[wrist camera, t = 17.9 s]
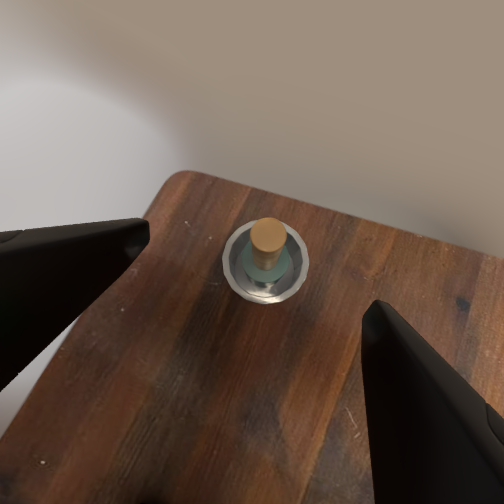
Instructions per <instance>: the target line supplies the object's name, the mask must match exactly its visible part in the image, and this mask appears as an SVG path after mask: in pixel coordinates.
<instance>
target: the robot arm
mask: <svg viewBox="0 0 504 504" xmlns="http://www.w3.org/2000/svg"><path fill="white" fill-rule="evenodd" d="M149 240H150V231H149V222H148V221H146V220H144V219H141V218H130V219H120V220H111V221H102V222H92V223H82V224H73V225H63V226H55V227H44V228H35V229H26V230H24V231H23V230H16V231H5V232H0V392H1V391H2V390H3V388H5V387H6V386H7V385H8V384H9V383H10V382H11V381H12V380H13V379H14V378H15V377H16V376H17V375H18V373H20V372H21V371H22V370H23V369H24V368H25V367H26V366H27V365H28V364H29V363H31V361H33V360H34V359H35V358H36V357H37V356H38V355H39V354H40V353H41V352H42V351H43V350H44V349H45V348H46V347H47V346H48V345H49V344H50V343H51V342H52V341H53V340H54V339H55V338H56V337H57V336H58V335H60V334H61V332H63V331H64V330H65V329H66V328H67V327H68V326H69V325H70V324H71V323H72V322H73V321H74V320H75V319H76V318H77V317H78V316H79V315H80V314H81V313H82V312H84V311H85V310H86V309H87V308H88V307H89V306H90V305H91V304H92V303H93V302H94V301H95V300H96V299H97V298H98V297H99V296H100V295H101V294H102V293H103V292H104V291H105V290H106V289H107V288H108V287H109V286H111V285H112V284H113V283H114V282H115V281H116V280H117V279H118V278H119V277H120V276H121V275H122V274H123V273H124V272H125V271H126V270H127V269H128V267H129V266H130V265H131V264H132V263H133V262H134V260H135V259H136V258H137V257H138V256H139V254H140V253H141V252H142V251H143V250H144V248H145V247H146V246H147V245H148V243H149ZM361 363H362V374H363V385H364V395H365V406H366V416H367V427H368V437H369V447H370V458H371V468H372V479H373V489H374V500H375V504H504V419H503V418H502V417H501V416H500V415H499V414H498V413H497V412H496V411H495V410H494V409H493V408H492V407H491V406H490V405H489V404H488V403H486V402H485V400H484V399H483V398H482V397H481V396H480V395H479V394H478V393H477V392H476V391H475V390H474V389H473V388H472V387H471V386H470V385H469V384H468V383H467V382H466V381H465V380H464V379H463V378H462V377H461V376H460V375H459V374H458V373H457V372H456V371H455V370H454V369H453V368H452V367H451V366H450V365H449V364H448V363H447V362H446V361H445V360H444V359H443V358H442V357H441V356H440V355H439V354H438V353H437V352H436V351H435V350H434V349H433V348H432V347H431V346H430V345H429V344H428V343H427V342H426V341H425V340H424V338H423V337H422V336H421V335H420V334H419V333H418V332H417V331H416V330H415V329H414V328H413V327H412V326H411V325H410V324H409V323H408V322H407V321H406V320H405V319H404V318H403V317H402V316H401V315H400V314H399V313H398V312H397V311H396V310H395V309H394V308H393V307H392V306H391V305H390V304H388V303H386V302H383V301H380V300H375V301H374V302H373V303H372V304H371V305H370V307H369V308H368V309H367V311H366V312H365V314H364V315H363V318H362V340H361ZM141 504H144V503H141Z"/></svg>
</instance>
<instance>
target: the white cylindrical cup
mask: <svg viewBox="0 0 504 504" xmlns="http://www.w3.org/2000/svg"><path fill="white" fill-rule="evenodd" d="M257 221H258V220H255V221H250V222H249V223H247V224H245V225H243V226H242V227H240V228H238V229H237V230H236V231H235V232H234V233H233V235H232V236H231V237H230V238H229V240H228V241H227V243H226V246H225V249H224V253H223V256H222V261H223V271H224V275H225V277H226V279H227V281H228V283H229V284H230V286H231V288H232V289H233V290H234V291H235V292H236V293H238V294H239V295H240V296H242V297H243V298H244V299H245V300H248V301H251V302H255V303H259V304H271V303H278V302H282V301H284V300H285V299H287V298H289V297H290V296H292V295H293V294H295V293H296V292H297V291H298V289H299V288H300V287H301V285H302V284H303V282H304V281H305V279H306V276H307V271H308V267H309V257H308V252H307V247H306V245H305V243H304V242H303V240H302V239H301V237H300V236H299V234H298V233H297V232H296V231H295V230H293V229H292V228H291V227H289V226H288V225H286V224H285V223H283V222H281V223H282V224H283V225H284V227H285V229H286V232H287V238H286V242H285V244H284V245H285V246H286V248H287V250H288V253H289V259H290V260H289V266H288V269H287V271H286V272H285V274H284V275H283V276H282V278H281V279H280V280H279V281H278V282H277V283H276V284H275V285H273V286H271V287H267V288H262V287H258V286H256V285H254V284H252V283H251V282H250V281H249V279H248V277H247V275H246V273H245V271H244V269H243V266H242V262H241V257H242V252H243V249H244V248H245V246H246V245H247V244H248V242H250V241H251V240H250V231H251V228H252V226H253V225H254V223H255V222H257Z"/></svg>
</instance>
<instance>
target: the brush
mask: <svg viewBox="0 0 504 504" xmlns="http://www.w3.org/2000/svg"><path fill="white" fill-rule="evenodd" d="M286 238H287V232H286V229H285V227H284V225H283V224H282V223H281V222H280V221H279V220H277V219H274V218H269V217H268V218H262V219H260V220H258V221H257V222H255V223H254V225H253V226H252V228H251V231H250V240H251V241H250V242H248V244H247V245H246V246H245V248H244V249H243V252H242V257H241V262H242V266H243V269H244V271H245V273H246V275H247V277H248V279H249V281H250V282H251V283H252V284H254V285H256V286H258V287H262V288H267V287H271V286H273V285H275V284H276V283H277V282H278V281H279V280H280V279H281V278H282V276H283V275H284V274H285V272H286V271H287V269H288V266H289V260H290V259H289V253H288V250H287V248H286V246H285V245H284V244H285V242H286Z"/></svg>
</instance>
